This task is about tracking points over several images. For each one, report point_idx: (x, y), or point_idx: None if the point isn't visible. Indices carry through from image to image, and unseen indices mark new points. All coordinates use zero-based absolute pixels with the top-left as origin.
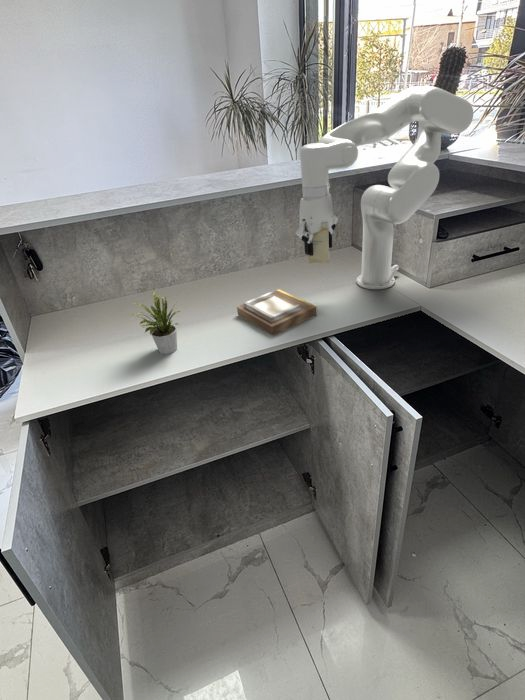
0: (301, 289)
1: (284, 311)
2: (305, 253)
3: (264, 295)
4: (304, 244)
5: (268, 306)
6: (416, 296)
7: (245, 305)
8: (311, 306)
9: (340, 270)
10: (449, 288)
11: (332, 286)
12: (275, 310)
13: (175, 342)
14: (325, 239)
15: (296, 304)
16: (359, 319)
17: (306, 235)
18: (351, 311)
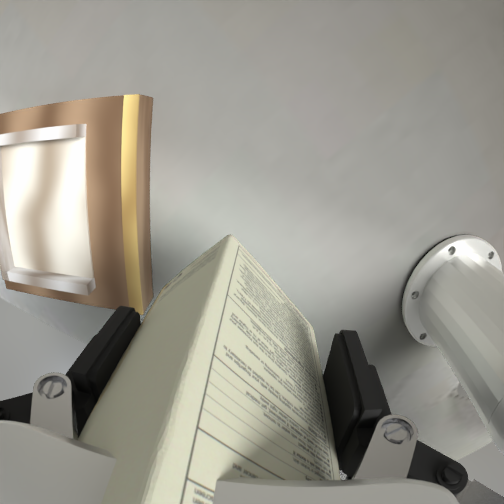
0: (267, 106)
1: (36, 283)
2: (121, 308)
3: (42, 134)
4: (68, 372)
5: (33, 192)
6: (405, 402)
7: None
8: (128, 304)
9: (485, 133)
10: (458, 412)
11: (365, 193)
12: (37, 232)
13: None
14: None
15: (104, 251)
16: None
17: (63, 435)
18: None
